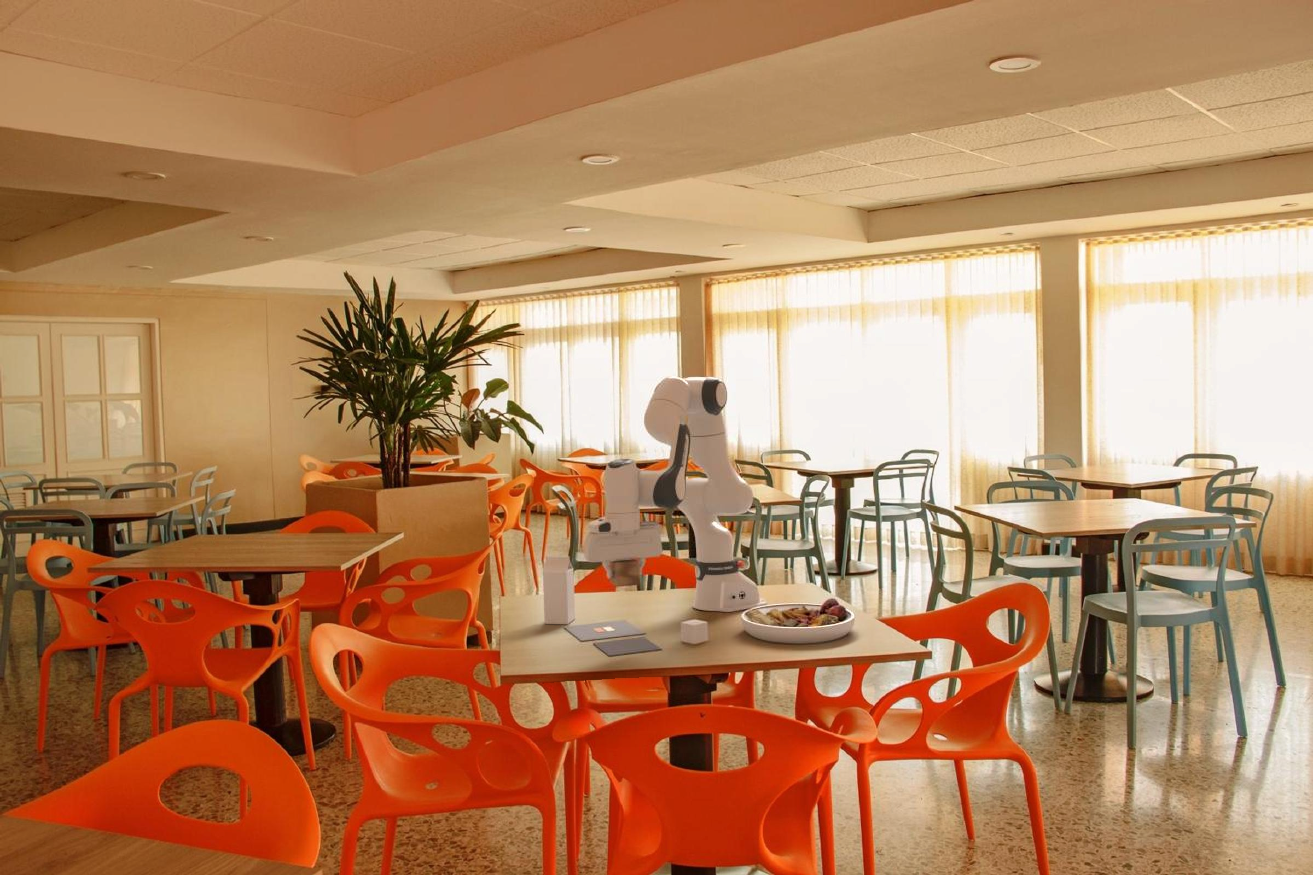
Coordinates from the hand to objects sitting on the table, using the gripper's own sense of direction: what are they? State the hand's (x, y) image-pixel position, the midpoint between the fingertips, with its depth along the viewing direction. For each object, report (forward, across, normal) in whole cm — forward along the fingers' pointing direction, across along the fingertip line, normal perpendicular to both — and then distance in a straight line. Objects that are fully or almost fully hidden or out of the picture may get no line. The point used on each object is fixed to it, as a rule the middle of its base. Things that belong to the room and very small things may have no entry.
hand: (624, 576), depth 257 cm
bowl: (+19, -46, +6) cm, 50 cm away
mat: (+18, 0, 0) cm, 18 cm away
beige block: (+18, -18, +2) cm, 26 cm away
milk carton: (+18, +8, -37) cm, 42 cm away
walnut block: (+2, 0, 0) cm, 2 cm away
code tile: (+18, 0, -20) cm, 27 cm away
